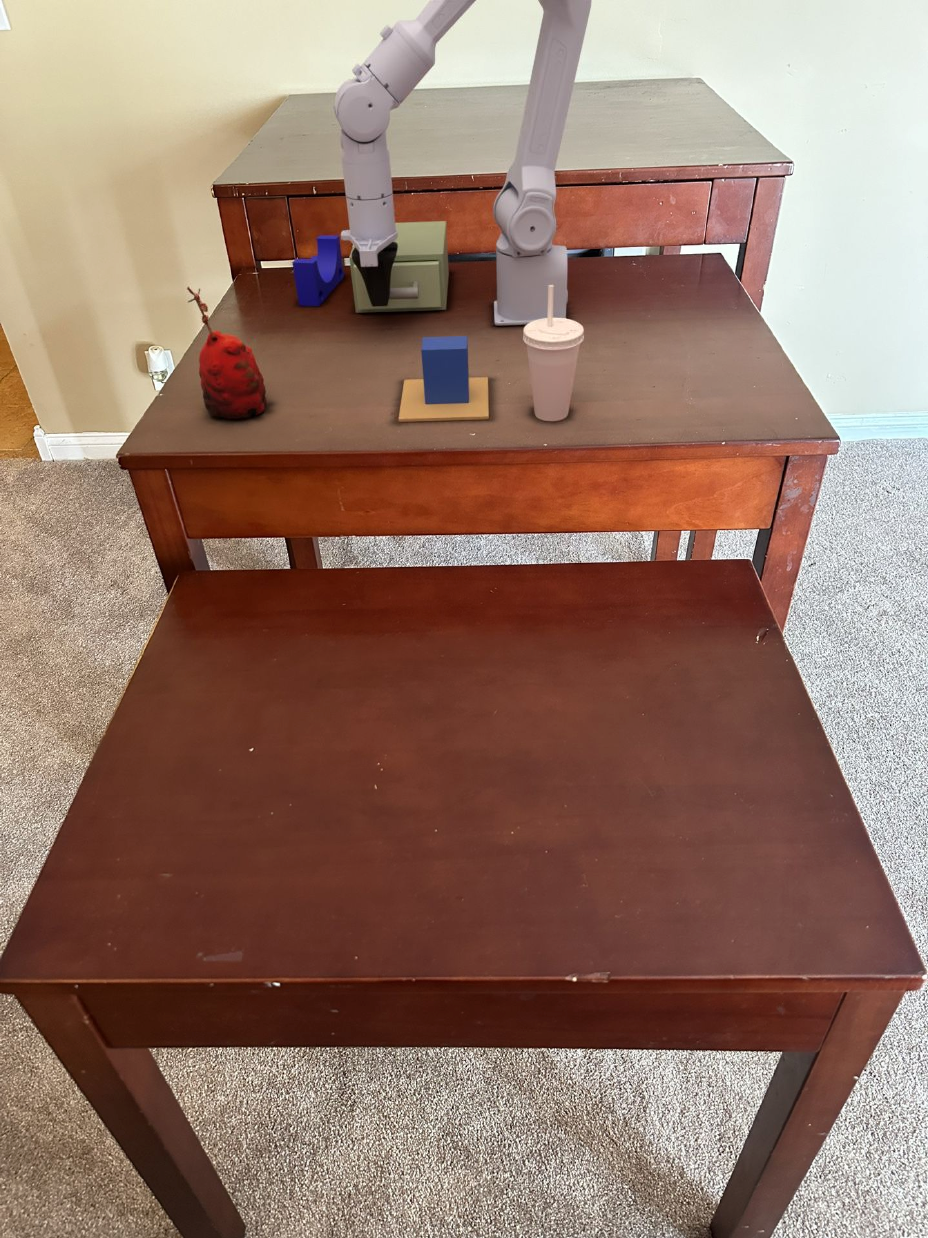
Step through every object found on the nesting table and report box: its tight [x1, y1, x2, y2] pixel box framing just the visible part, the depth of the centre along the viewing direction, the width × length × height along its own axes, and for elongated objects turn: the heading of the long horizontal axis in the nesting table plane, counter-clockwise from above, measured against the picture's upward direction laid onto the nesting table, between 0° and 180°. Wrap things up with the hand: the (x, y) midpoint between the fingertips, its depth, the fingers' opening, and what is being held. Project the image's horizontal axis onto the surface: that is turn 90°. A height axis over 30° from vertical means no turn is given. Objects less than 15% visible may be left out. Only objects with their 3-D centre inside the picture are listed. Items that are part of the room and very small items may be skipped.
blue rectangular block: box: [420, 335, 470, 404], centre depth 101 cm, size 5×3×6 cm
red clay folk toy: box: [186, 286, 267, 420], centre depth 98 cm, size 8×7×15 cm
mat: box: [398, 376, 490, 423], centre depth 103 cm, size 10×10×1 cm
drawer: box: [354, 260, 441, 310], centre depth 125 cm, size 18×11×6 cm, turn 179°
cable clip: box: [291, 234, 345, 307], centre depth 130 cm, size 12×4×6 cm, turn 169°
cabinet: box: [348, 220, 450, 314], centre depth 128 cm, size 15×13×8 cm
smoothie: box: [522, 285, 585, 422], centre depth 95 cm, size 6×6×14 cm
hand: (380, 304), depth 118 cm, fingers closed
